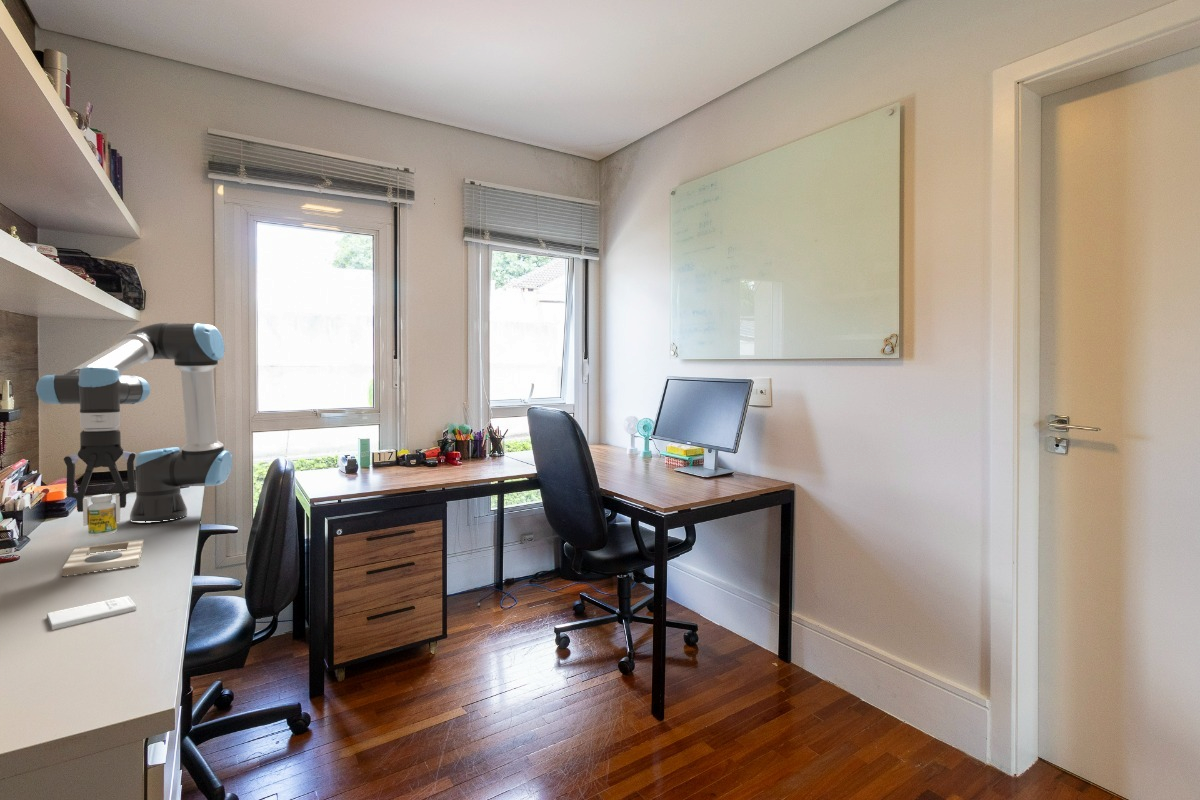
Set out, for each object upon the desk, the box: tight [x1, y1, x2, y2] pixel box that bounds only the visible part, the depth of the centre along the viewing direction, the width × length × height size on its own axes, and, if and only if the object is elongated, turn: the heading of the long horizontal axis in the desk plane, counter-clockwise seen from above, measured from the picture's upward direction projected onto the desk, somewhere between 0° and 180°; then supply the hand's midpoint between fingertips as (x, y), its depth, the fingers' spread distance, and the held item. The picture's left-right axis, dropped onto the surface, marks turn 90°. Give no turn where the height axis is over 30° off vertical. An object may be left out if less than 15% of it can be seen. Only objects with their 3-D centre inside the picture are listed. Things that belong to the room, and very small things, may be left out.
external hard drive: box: [46, 595, 137, 631], centre depth 114 cm, size 2×8×12 cm
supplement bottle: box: [87, 493, 118, 537], centre depth 142 cm, size 5×5×10 cm
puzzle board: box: [61, 539, 144, 577], centre depth 147 cm, size 20×14×2 cm
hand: (102, 522), depth 142 cm, fingers closed on supplement bottle, 5 cm apart
